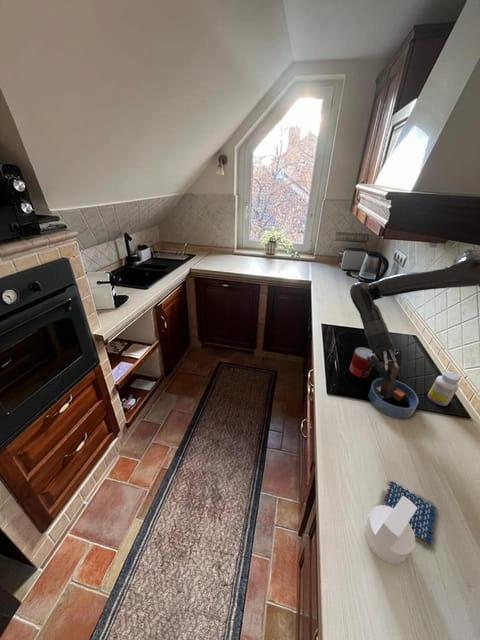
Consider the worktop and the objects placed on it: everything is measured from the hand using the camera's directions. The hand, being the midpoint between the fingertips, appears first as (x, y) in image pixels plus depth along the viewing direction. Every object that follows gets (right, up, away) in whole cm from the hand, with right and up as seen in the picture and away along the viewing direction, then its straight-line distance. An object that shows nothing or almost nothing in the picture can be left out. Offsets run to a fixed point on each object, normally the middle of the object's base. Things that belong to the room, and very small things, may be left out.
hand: (393, 380), depth 89 cm
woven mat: (-12, -27, -25) cm, 39 cm away
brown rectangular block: (0, -6, +4) cm, 8 cm away
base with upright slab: (-21, -30, -30) cm, 47 cm away
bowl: (+2, -10, +6) cm, 12 cm away
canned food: (-3, -2, +20) cm, 20 cm away
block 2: (+6, -9, +8) cm, 13 cm away
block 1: (0, -8, +8) cm, 11 cm away
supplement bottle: (+21, -10, +8) cm, 24 cm away
